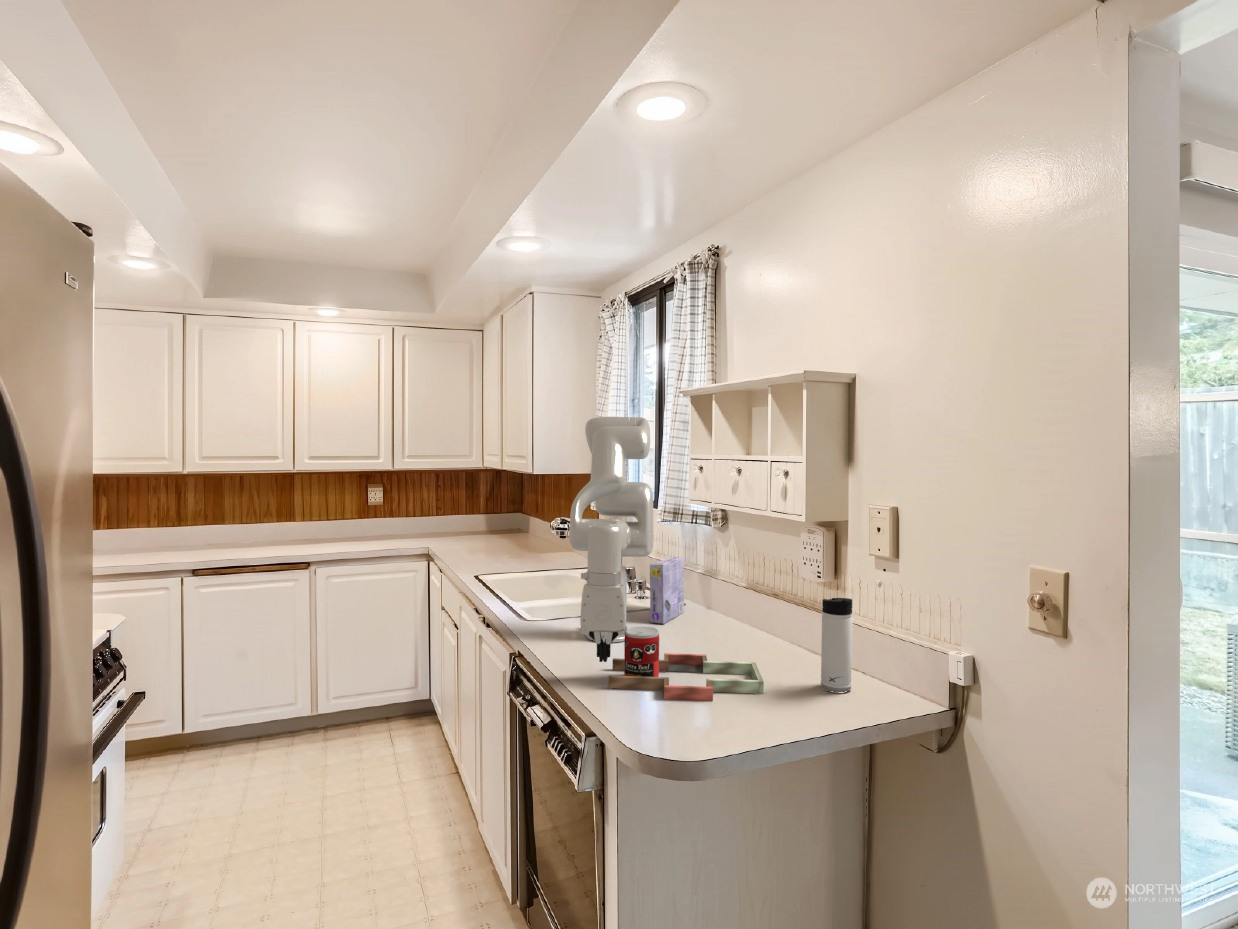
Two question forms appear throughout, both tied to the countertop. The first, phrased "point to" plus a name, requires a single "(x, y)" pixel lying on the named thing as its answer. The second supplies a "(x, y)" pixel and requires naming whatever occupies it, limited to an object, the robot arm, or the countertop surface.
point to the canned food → (641, 652)
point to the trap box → (691, 665)
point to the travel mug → (836, 644)
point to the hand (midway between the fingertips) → (603, 660)
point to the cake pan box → (666, 589)
